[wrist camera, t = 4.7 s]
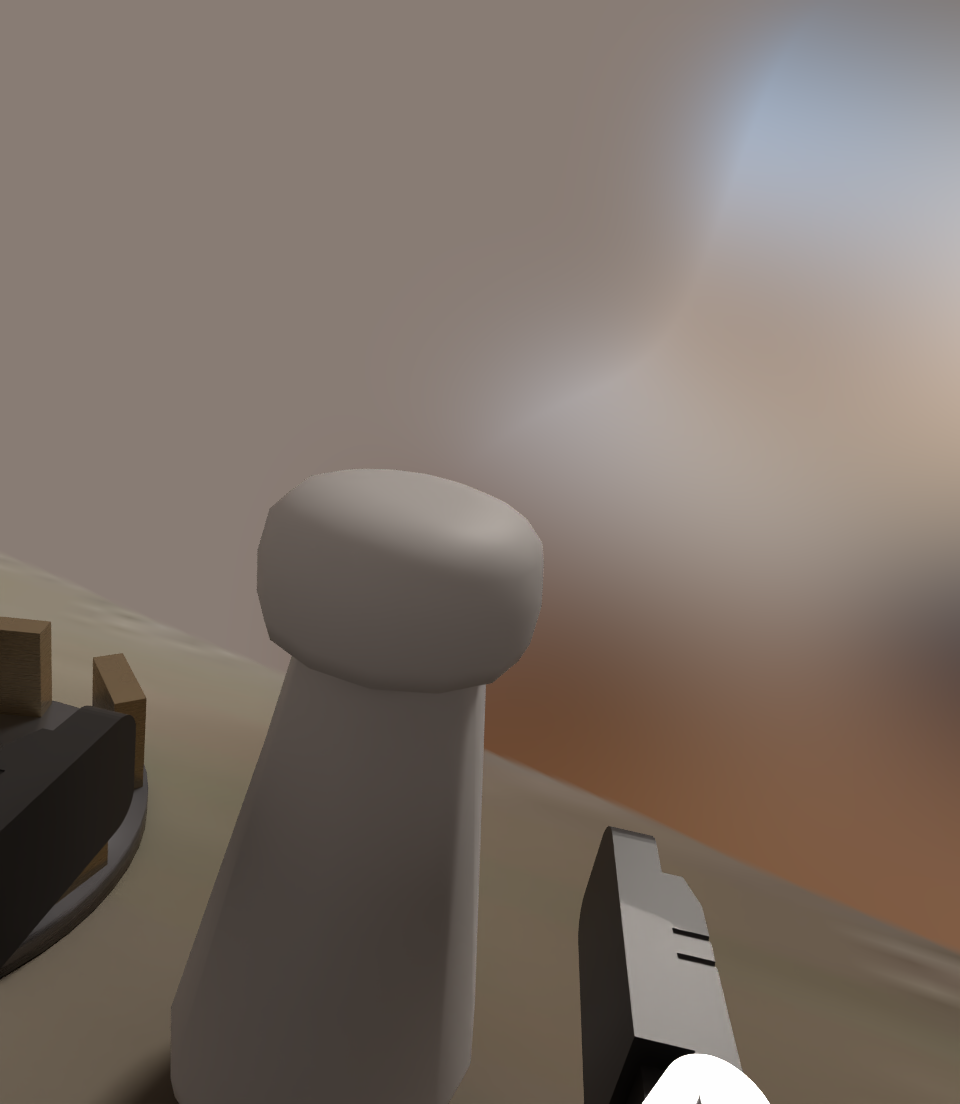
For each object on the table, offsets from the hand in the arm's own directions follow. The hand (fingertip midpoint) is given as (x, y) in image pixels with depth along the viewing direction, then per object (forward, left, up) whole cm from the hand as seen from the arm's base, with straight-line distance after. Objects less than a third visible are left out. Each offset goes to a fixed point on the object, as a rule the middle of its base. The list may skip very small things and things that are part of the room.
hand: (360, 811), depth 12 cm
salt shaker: (0, 0, -8) cm, 8 cm away
